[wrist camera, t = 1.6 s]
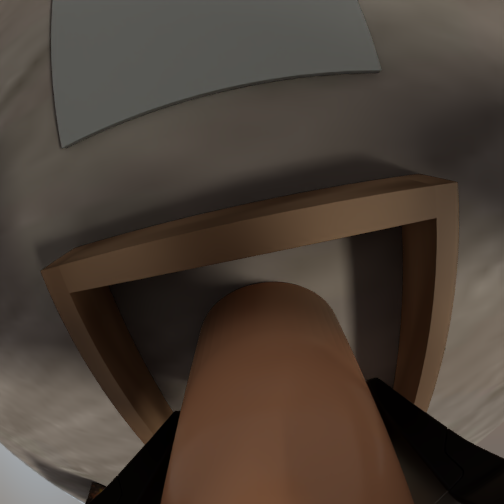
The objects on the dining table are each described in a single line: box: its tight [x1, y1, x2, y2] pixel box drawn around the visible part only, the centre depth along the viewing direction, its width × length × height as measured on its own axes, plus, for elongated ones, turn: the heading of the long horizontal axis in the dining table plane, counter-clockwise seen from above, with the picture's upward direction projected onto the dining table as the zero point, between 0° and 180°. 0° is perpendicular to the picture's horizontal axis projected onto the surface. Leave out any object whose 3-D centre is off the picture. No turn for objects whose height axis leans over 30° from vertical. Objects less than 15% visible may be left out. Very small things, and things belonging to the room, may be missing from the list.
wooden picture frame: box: [41, 174, 459, 444], centre depth 11 cm, size 14×14×2 cm
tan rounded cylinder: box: [161, 282, 414, 504], centre depth 8 cm, size 6×8×9 cm
